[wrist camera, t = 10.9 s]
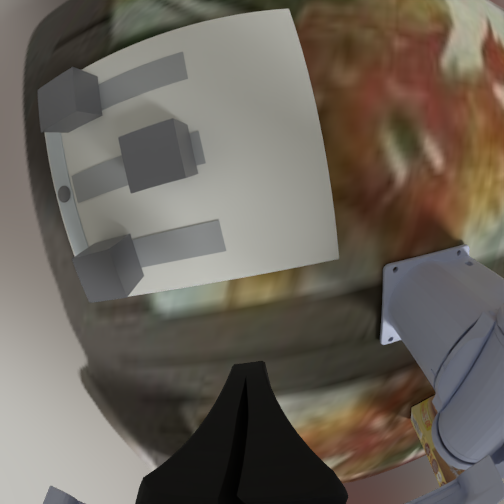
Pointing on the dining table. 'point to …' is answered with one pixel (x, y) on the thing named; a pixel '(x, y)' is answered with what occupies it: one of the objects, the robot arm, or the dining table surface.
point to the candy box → (431, 441)
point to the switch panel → (205, 156)
